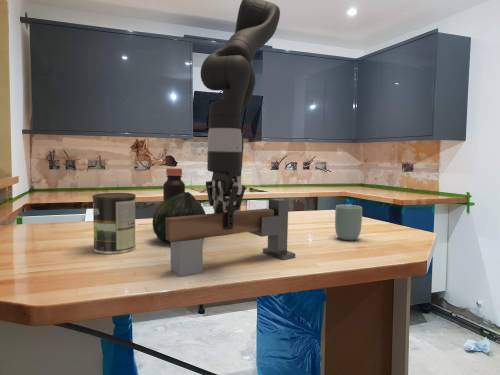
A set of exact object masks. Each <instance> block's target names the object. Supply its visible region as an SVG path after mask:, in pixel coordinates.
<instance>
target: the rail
mask: <svg viewBox="0 0 500 375" xmlns="http://www.w3.org/2000/svg"><path fill="white" fill-rule="evenodd" d="M267 216H274V210H271V209H269V208H266V207H265V208H258V209H257V208H256V209H248V210H247V209H245V210H241V211H235V212H234V213H233V228H232V229H228V230H225V229H223V213H214V212H213V213H205V214H202V215H192V216H181V217H171V218H166V240H168V241H169V242H170V243H171V242H178V241H186V240H193V239H207V238H213V237H220V236H222V237H223V236H229V235H230V236H231V235H237V234H242V233H243V234H244V233H249V232H252V231H260V217H267Z"/></svg>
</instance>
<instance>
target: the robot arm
mask: <svg viewBox="0 0 500 375" xmlns="http://www.w3.org/2000/svg"><path fill="white" fill-rule="evenodd" d="M239 5H240V6H239V8H238V11H237V12H238V13H237V17H236V24H235V30H234V33H233V34H232V35H231V37H230V38H228V40H227V42H226V43H225V44H224V45H223V46H222V47H220V48H218V49H216V50H214V51H213V52H212V53H211V54H209V55H208V56H207V57H206V58H205V59H204V61H203V62H202V64H201V67H200V73H199V74H200V79H201V83H202V84H203V86H204V87H205V88H207V90H211V91H222V95H221V99H220V100H216V101H213V102H211V103H210V105H209V108H208V133H207V152H206V153H207V155H206V156H207V158H206V160H207V163H206V164H207V171H208V172H209V173H211V172H212V177H211V180H210V181H208V180H206V181H205V188H206V194H207V199H208V203H209V206H210V207H212V209H213V213H223V229H225V230H228V229H232V228H233V213H234V212H235V211H242V207H241V206H242V202H243V198H244V195H245V191H246V186H245V185H244V184H242V171H243V160H244V159H243V157H244V145H245V144H244V134H243V133H242V112H243V111H244V110H245V108H247V107H248V105H249V104H250V102H251V101H252V100H251V99H252V96H253V94H254V90H255V87H256V74H255V71H254V70H255V69H254V67H253V64H252V61H253V59H254V57H255V55H256V54H257V52H258V51H259V50H260V49H261V48H262V47H263V46H265V45H266V44H267V43H268V42H269V41H270V40H271V39H272V37H273V36H274V34H275V33H276V30H277V28H278V25H279V21H280V18H281V11H280V7H279V6H278V5H276V3H273V2H271V1H268V0H241V2H240V4H239Z"/></svg>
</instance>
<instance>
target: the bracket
mask: <svg viewBox="0 0 500 375" xmlns="http://www.w3.org/2000/svg"><path fill="white" fill-rule="evenodd" d="M268 209H271V210H274V216H267V217H260V231H252V232H248V233H249V234H253V235H255V236H258V237H262V238H263V237H267V247H263V248H262V253H264V254H267V255H270V256H272V257H274V258H277V259H279V260H282V261H283V260H290V259H294V258H296V253H295V252H293V251H290V250H288V232H289V230H288V228H289V227H288V226H289V199H285V198H280V197H279V198H278V197H277V198H268Z"/></svg>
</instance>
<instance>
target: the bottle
mask: <svg viewBox="0 0 500 375" xmlns="http://www.w3.org/2000/svg"><path fill="white" fill-rule="evenodd" d="M165 169H166V173H165V174H166V178H167V180H166V181H165V182H164V183H163V186H162V187H163V196H162V197H163V201H165V200H166V199H168V198H170V197H173V196H175V195H177V194H180V193H183V192H186V184H185V183H184V181H183V180H182V176H183V169H182V168H179V167H173V168H172V167H171V168H168V167H167V168H165ZM163 201H162V202H163Z"/></svg>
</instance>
